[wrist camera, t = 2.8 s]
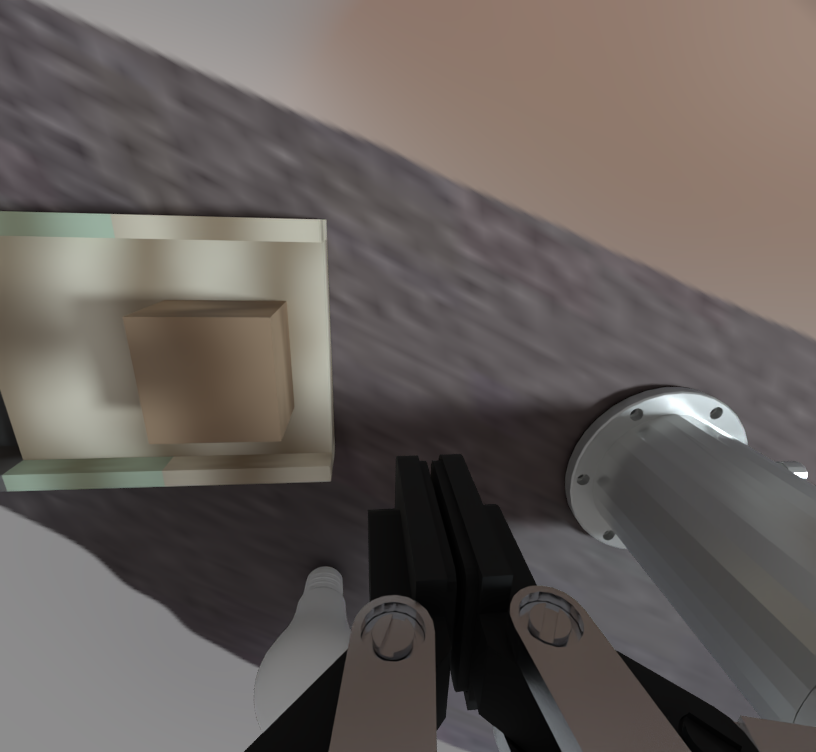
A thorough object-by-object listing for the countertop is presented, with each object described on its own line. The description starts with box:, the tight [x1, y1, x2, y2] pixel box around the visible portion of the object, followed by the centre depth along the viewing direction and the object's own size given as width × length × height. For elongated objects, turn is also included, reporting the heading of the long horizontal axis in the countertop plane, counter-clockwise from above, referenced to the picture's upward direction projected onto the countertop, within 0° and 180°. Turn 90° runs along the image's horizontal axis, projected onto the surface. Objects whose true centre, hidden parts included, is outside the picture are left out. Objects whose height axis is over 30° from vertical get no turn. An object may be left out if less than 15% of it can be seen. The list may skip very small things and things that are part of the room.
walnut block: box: [123, 300, 294, 444], centre depth 21 cm, size 6×6×4 cm
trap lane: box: [0, 211, 335, 492], centre depth 22 cm, size 23×14×4 cm, turn 88°
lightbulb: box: [254, 566, 351, 732], centre depth 26 cm, size 6×6×11 cm
